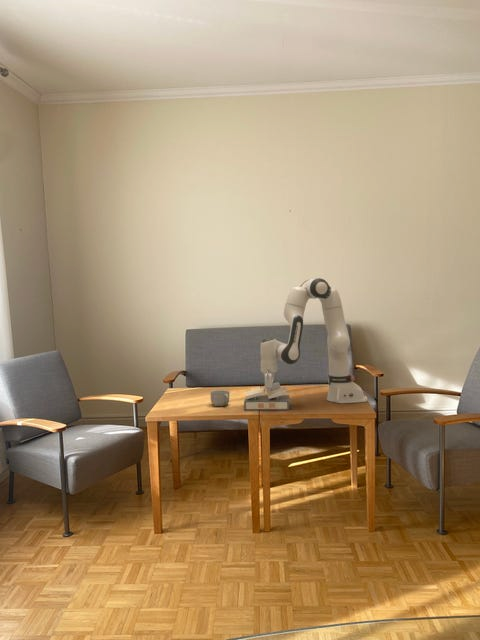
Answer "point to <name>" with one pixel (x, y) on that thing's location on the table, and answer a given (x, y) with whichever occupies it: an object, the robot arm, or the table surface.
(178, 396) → the table surface
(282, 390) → the rocker
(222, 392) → the teacup
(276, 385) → the electrical switch
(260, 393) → the block
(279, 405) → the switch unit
